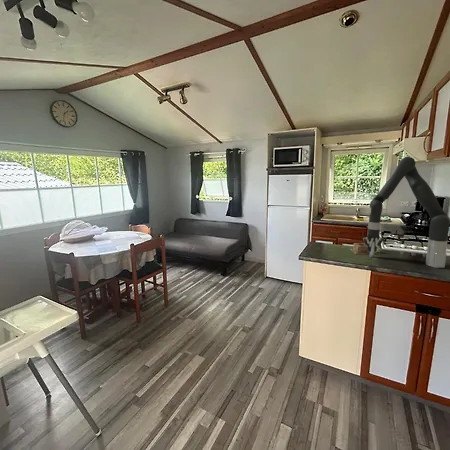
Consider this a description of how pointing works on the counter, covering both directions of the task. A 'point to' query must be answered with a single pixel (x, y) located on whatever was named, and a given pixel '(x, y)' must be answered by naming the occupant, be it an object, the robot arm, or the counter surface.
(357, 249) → the socket block
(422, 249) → the counter surface
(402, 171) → the robot arm
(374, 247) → the long steel pin
